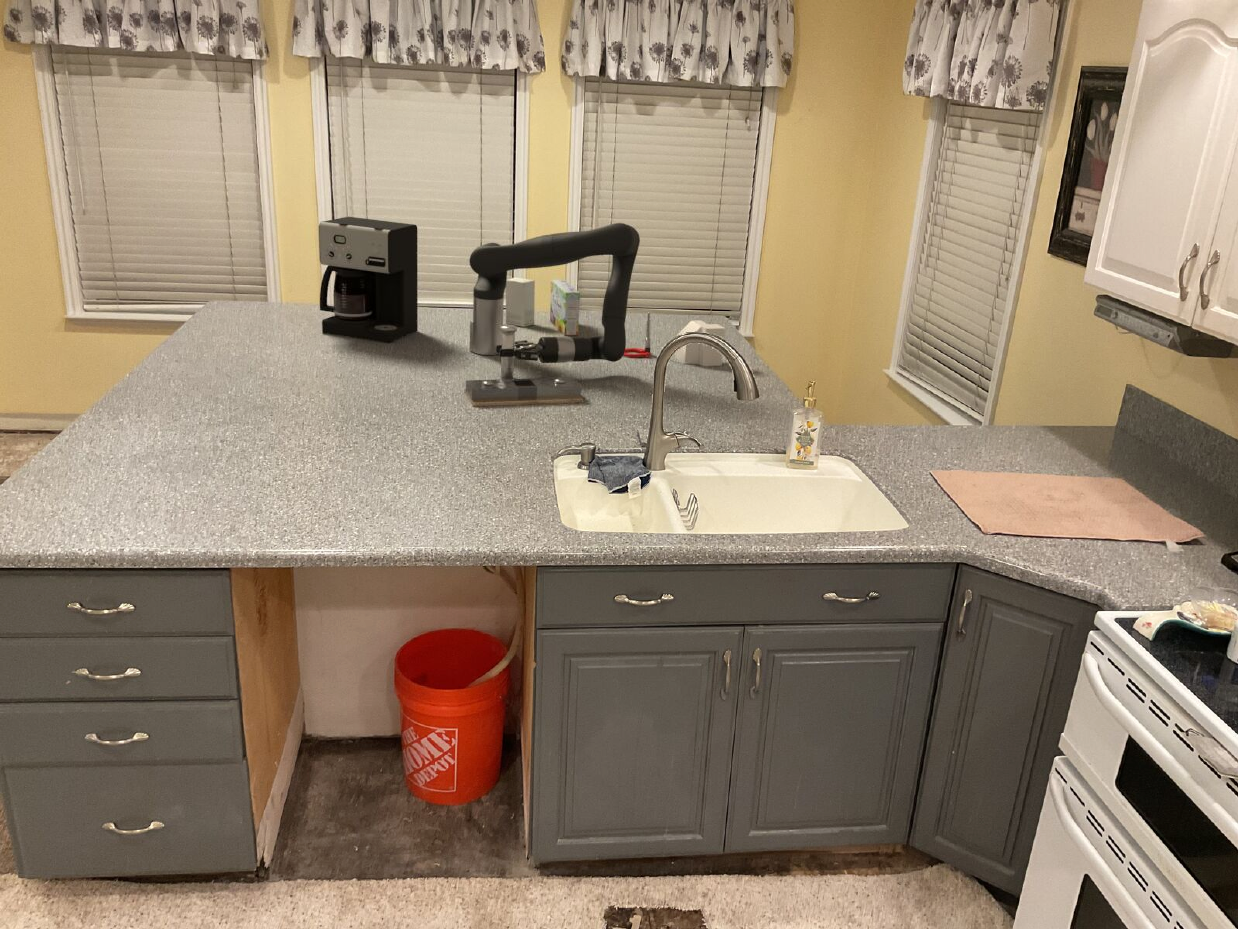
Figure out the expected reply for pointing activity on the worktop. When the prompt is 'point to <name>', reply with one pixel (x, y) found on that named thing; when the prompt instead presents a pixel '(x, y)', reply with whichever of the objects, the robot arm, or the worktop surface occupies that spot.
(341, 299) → the coffee maker
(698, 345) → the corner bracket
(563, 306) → the snack box
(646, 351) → the tow hook
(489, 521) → the worktop surface
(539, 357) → the robot arm
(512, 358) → the steel pin
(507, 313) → the skincare box
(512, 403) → the pin socket base plate
